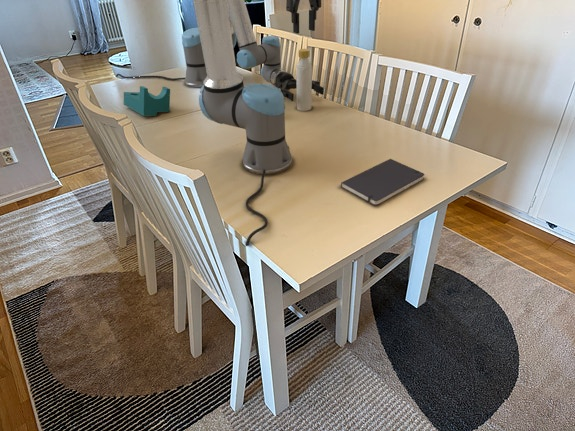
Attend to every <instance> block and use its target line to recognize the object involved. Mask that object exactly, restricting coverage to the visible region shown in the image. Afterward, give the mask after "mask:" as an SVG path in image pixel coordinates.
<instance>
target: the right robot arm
mask: <svg viewBox="0 0 575 431" xmlns="http://www.w3.org/2000/svg"><path fill="white" fill-rule="evenodd" d="M300 1H301V0H286V7H285V11H286V12H289V13H290V15H291V17H290V18H291V19H290V20H291V23H292V31H293V33H294V34H300V12H298V10H299V6H300ZM192 3H193V8H194V14H195V18H196V23H197V24H196V25H197V27H198V30H199V35H200V40H201V45H202V51H203V56H204V61H205V66H206V72H207V77H206V78H205V80H204V81H203V84H204V85H203V86H202V87H200V91H199V95H198V106H199V109H200V111H201V113H202V114H203V116H205V118H206V119H208V120H210V121H212V122H215V123H217V124H220V125H226V126H231V127H235V128H239V129H242V130H243V129H244V130H245V136H246V137H245V138H246V143H245V146H244V151H243V155H242V166H243V168H244V170H246V171H247V172H249V173H252V174H254V175H255V174H256V175H261V179H260V187H259V188H258V190H257V191H256V192H254V193H252V194H251V195H250V196H249V197H248V198H247V199H246V201H245V207H246V209H248V211H249V212H251V213H253V214H254V215H257V216H259V217H260V218H262V219H263V221H264V224H263V225H262V226H261V227H258V228H257V229H255V230H253V231H252V232H250V234H249V235H248V236H247V239H246V242H245V246H246V247H248V246H250V242H251V240H252V238H253V237H254V236H255V235H256V234H258V233H259V232H262V231H263V230H265V229H266V228H267V226H268V224H269V222H268V219H267V217H266V216H265V215H264V214H262V213H261V212H258V211H256V210H254V209H253V208H252V207H250V205H249V203H250V202H251V200H252V199H254V198H255V197H256V196H257V195H259V194H260V193H261V192H262V190H263V187H264V181H265V176H269V175H277V174H280V173H283V172H286V171H287V170H289V169H290V167H291V166H292V163H293V158H292V153H291V150H290V146H289V145H288V143H287V140H286V111H285V110H286V105H285V97H284V96H283V94H282V92H281V89H278V88H277V87H275V86H274V85H273V84H270V83H269V84H268V83H263V82H262V83H249V84H247V85H245V84H244V78H243V75H241V74H240V73H239V72H238V71H237V66H236V65H237V64H236V63H237V62H236V56H235V49H234V48H233V42H232V35H231V28H230V21H229V14H228V7H227V0H192ZM308 3H309V8H310V9H309V10H308V31H311V32H315V31H316V21H317V13H318V11H319V10H320V9H321V8H322V0H308ZM250 310H251V312H250V313H251V319H252V329H253V337H254V346H255V354H256V359H257V360H260V352H259V341H258V333H257V323H256V316H255V308H253V307H252V308H250Z"/></svg>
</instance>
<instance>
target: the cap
mask: <svg viewBox="0 0 575 431" xmlns="http://www.w3.org/2000/svg"><path fill="white" fill-rule="evenodd" d="M298 58H300V59H301V58H308V59H309V58H310V49H309V48H299V49H298Z"/></svg>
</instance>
